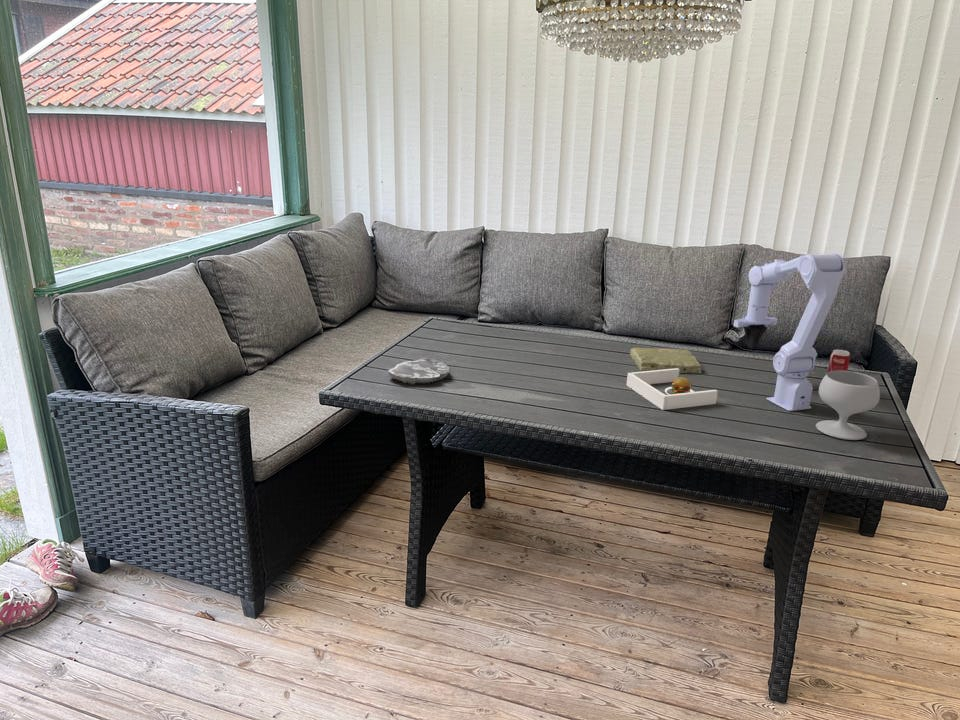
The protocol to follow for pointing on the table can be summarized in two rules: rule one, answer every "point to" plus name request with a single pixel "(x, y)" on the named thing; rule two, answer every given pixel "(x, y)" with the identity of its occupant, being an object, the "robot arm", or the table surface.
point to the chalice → (847, 401)
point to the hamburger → (680, 386)
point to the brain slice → (420, 371)
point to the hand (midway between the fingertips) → (751, 347)
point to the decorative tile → (665, 359)
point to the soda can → (839, 360)
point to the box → (665, 402)
